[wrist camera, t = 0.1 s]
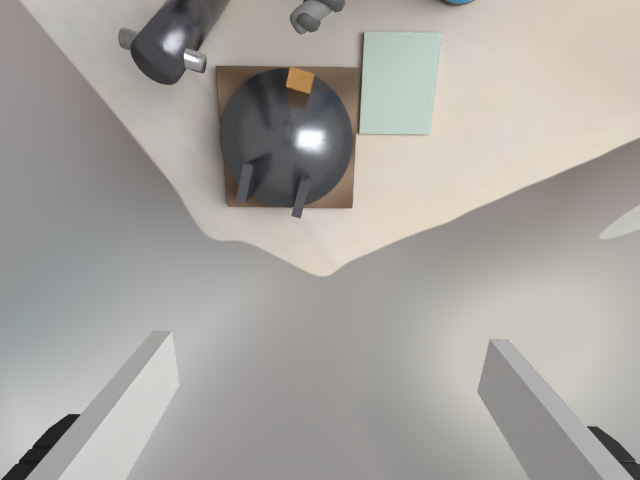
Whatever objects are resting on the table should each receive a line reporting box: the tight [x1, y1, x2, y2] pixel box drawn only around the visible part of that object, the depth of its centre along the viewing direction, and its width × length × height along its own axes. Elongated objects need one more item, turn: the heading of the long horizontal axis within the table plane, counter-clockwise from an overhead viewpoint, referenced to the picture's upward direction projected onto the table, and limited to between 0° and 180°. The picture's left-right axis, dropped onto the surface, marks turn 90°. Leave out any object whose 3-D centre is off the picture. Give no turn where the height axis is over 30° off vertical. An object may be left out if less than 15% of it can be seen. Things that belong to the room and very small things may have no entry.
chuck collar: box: [220, 66, 353, 218], centre depth 33 cm, size 14×14×4 cm
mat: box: [359, 31, 442, 135], centre depth 34 cm, size 10×8×1 cm
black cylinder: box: [119, 0, 230, 85], centre depth 27 cm, size 6×4×14 cm
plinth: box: [216, 66, 359, 208], centre depth 36 cm, size 15×15×2 cm
